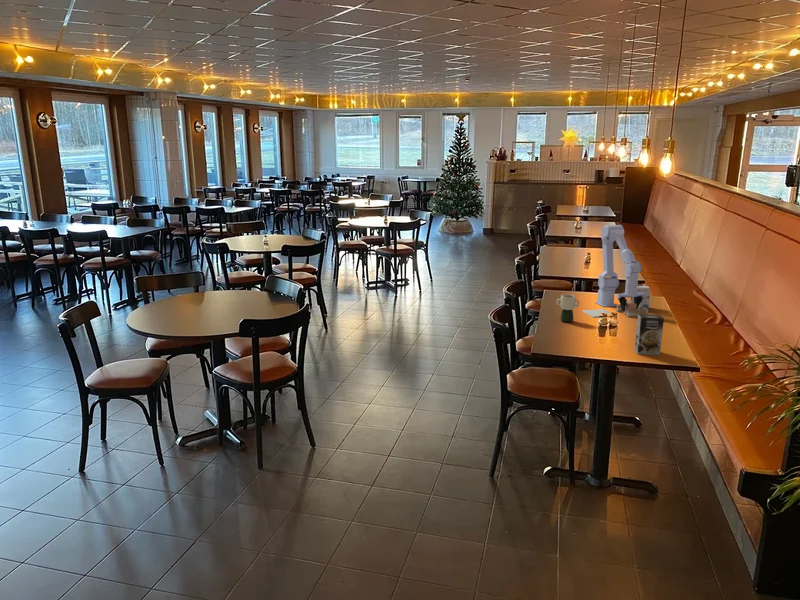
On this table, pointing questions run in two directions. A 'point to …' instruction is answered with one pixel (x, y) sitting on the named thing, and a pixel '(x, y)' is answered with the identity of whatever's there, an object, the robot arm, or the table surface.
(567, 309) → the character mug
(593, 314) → the pad
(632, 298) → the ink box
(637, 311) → the frame
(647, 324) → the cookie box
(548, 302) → the table surface
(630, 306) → the block
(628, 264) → the robot arm
